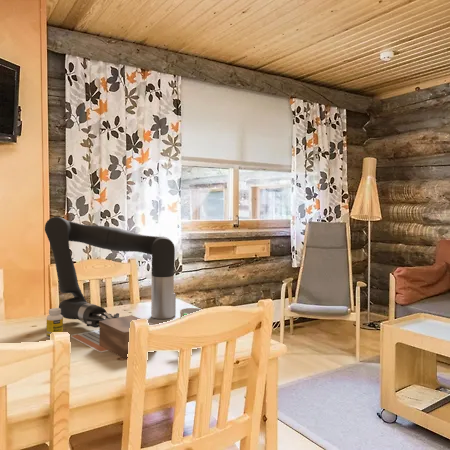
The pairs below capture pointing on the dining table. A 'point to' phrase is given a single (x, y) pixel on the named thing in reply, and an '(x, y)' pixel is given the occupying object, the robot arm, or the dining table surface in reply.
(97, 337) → the letter
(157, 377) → the dining table surface
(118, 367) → the dining table surface
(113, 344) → the walnut box
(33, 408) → the dining table surface
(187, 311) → the cup
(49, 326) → the supplement bottle
